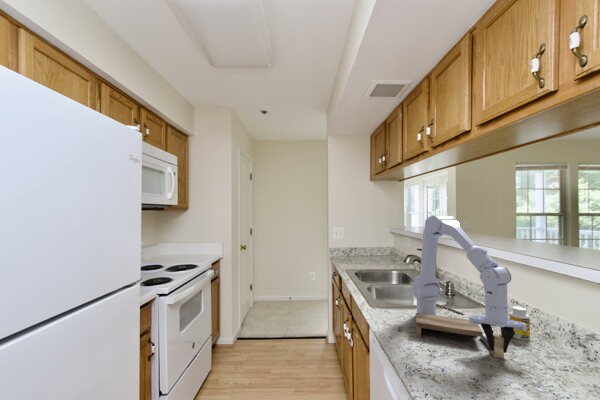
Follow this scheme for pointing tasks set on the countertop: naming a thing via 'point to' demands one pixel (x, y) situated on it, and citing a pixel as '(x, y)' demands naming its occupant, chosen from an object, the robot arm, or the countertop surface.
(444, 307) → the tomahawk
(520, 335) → the supplement bottle
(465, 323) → the low wooden bench
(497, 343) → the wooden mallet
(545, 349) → the countertop surface
